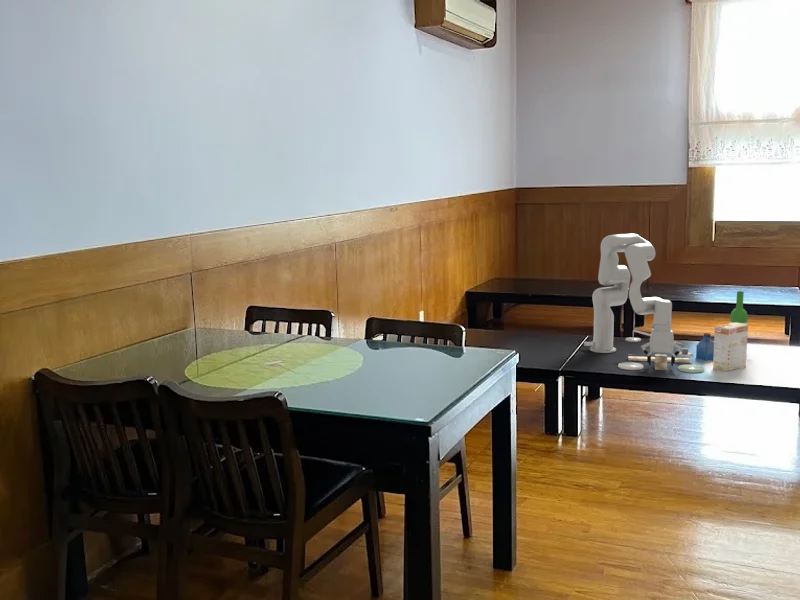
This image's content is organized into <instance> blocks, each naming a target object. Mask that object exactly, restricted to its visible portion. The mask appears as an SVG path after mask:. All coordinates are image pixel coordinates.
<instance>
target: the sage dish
mask: <svg viewBox="0 0 800 600" xmlns="http://www.w3.org/2000/svg"><path fill="white" fill-rule="evenodd" d="M677 369H678V371H679V372H683V373H690V374H696V373H697V374H699V373H704V372H705V367H703V366H701V365H698V364H680V365H678V367H677ZM703 371H704V372H703Z"/></svg>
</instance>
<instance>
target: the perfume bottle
mask: <svg viewBox="0 0 800 600" xmlns="http://www.w3.org/2000/svg"><path fill="white" fill-rule="evenodd" d="M711 339H712V336H711V333H709V332H708V333H707V332H706V333H703V336H702V339H701V340H699V342H698V343H697V345H696V351H695V353H696V354H695V359H698V360H702V361H705V362H707V361H708V360H709V361H713V358H714V341H713V340H711Z"/></svg>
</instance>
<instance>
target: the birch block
mask: <svg viewBox="0 0 800 600" xmlns="http://www.w3.org/2000/svg"><path fill="white" fill-rule="evenodd" d="M654 357H655V362H654V370H655V371H667V370H668V362H667V358H668V355H667V354H663V353H660V354H657V353H654Z"/></svg>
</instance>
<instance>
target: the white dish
mask: <svg viewBox="0 0 800 600" xmlns="http://www.w3.org/2000/svg"><path fill="white" fill-rule="evenodd" d="M617 368H618V369H621V370H625V371H640V370H643V369H644V365H643V364H642V363H640V362H634V361H633V362H632V361H625V362H624V361H623V362H619V363H618V365H617Z"/></svg>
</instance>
